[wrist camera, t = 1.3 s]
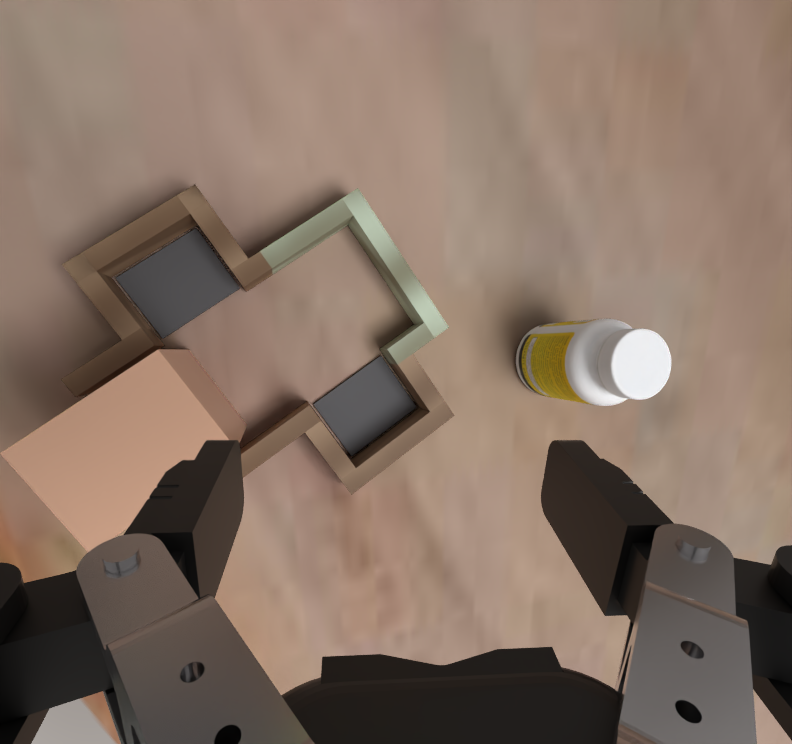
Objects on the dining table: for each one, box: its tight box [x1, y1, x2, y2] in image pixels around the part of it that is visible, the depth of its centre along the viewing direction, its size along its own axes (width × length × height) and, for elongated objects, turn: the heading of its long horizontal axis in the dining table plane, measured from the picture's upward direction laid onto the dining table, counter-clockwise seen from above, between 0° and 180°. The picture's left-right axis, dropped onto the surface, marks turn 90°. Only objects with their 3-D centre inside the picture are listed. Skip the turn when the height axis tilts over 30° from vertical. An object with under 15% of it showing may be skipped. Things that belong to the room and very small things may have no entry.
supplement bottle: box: [516, 319, 671, 406], centre depth 32 cm, size 5×5×10 cm
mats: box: [116, 229, 416, 456], centre depth 32 cm, size 18×11×1 cm, turn 36°
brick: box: [0, 349, 247, 552], centre depth 27 cm, size 6×8×8 cm
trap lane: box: [61, 185, 454, 495], centre depth 30 cm, size 20×20×2 cm
